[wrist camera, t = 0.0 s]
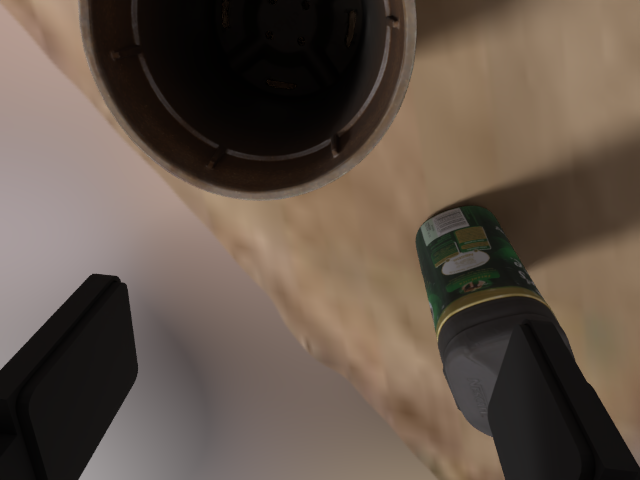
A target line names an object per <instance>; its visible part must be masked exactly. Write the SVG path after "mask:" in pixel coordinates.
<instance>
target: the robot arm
mask: <svg viewBox="0 0 640 480" xmlns="http://www.w3.org/2000/svg"><path fill="white" fill-rule="evenodd" d="M137 373H138V363H137V356H136V348H135V341H134V334H133V326H132V319H131V311H130V304H129V296H128V289H127V285H126V284H125V283H121V281H120V279H119V277H117V276H111V275H102V274H92V275H90V276H89V277H88V278H87V279H86V280H85V282H84V283H83V284H82V285H81V286H80V287H79V288H78V289H77V290H76V291H75V292H74V293H73V294H72V295H71V296H70V297H69V298H68V299H67V301H66V302H65V303H64V304H63V305H62V306H61V307H60V308H59V309H58V310H57V311H56V312H55V313H54V314H53V315H52V316H51V317H50V318H49V319H48V320H47V322H46V323H45V324H44V325H43V326H42V327H41V328H40V329H39V330H38V331H37V332H36V333H35V334H34V335H33V336H32V337H31V338H30V339H29V341H28V342H27V343H26V344H25V345H24V346H23V347H22V348H21V349H20V350H19V351H18V352H17V353H16V354H15V355H14V356H13V357H12V359H10V361H9V362H8V363H7V364H6V365H5V366H4V367H3V368H2V369H1V370H0V480H78V479H79V477H80V476H81V474H82V472H83V471H84V469H85V467H86V465H87V464H88V462H89V460H90V459H91V457H92V455H93V453H94V452H95V450H96V448H97V446H98V445H99V443H100V441H101V439H102V438H103V436H104V434H105V433H106V431H107V429H108V427H109V426H110V424H111V422H112V420H113V419H114V417H115V415H116V414H117V412H118V410H119V408H120V407H121V405H122V403H123V401H124V399H125V398H126V396H127V395H128V393H129V391H130V389H131V388H132V386H133V384H134V382H135V380H136V377H137ZM488 422H489V426H490V429H491V432H492V436H493V439H494V443H495V446H496V449H497V453H498V456H499V460H500V463H501V466H502V470H503V473H504V477H505V480H640V467H639V466H638V464H637V462H636V461H635V459H634V457H633V455H632V454H631V452H630V450H629V448H628V447H627V445H626V443H625V442H624V440H623V438H622V436H621V435H620V433H619V431H618V430H617V428H616V426H615V424H614V423H613V421H612V419H611V418H610V416H609V414H608V412H607V411H606V409H605V407H604V406H603V404H602V402H601V400H600V399H599V397H598V395H597V393H596V392H595V390H594V389H593V387H592V386H591V385H590V384H589V383H587V381H586V379H585V378H584V376H583V374H582V372H581V371H580V369H579V367H578V365H577V364H576V362H575V360H574V358H573V357H572V355H571V353H570V351H569V350H568V348H567V346H566V345H565V343H564V341H563V339H562V338H561V336H560V334H559V332H558V331H557V329H556V327H555V325H554V324H553V323H552V322H550V321H544V320H534V319H525V320H524V321H523V322H522V324H516V325H515V326H514V328H513V331H512V334H511V337H510V340H509V343H508V346H507V349H506V352H505V356H504V359H503V362H502V365H501V368H500V371H499V374H498V377H497V380H496V383H495V386H494V389H493V392H492V396H491V399H490V402H489V405H488Z"/></svg>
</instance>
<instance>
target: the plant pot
mask: <svg viewBox="0 0 640 480" xmlns="http://www.w3.org/2000/svg"><path fill="white" fill-rule="evenodd" d="M303 1H304V0H277V2H276V4H275V5H272V4H270V3H269V1H268V0H230V2H229V9H228V12H229V14H228V16H229V23H230V26H229V28H227V29H225V28H224V27H223V25H222V2H223V0H78V6H79V22H80V30H81V36H82V41H83V47H84V52H85V55H86V59H87V62H88V65H89V68H90V71H91V74H92V76H93V79H94V81H95V83H96V86H97V88H98V90H99V92H100V94H101V96H102V98H103V100H104V102H105V104H106V105H107V107H108V109H109V110H110V112H111V113H112V115H113V117H114V118H115V120H116V121H117V122H118V124H119V125H120V126H121V128H122V129H123V130H124V132H125V133H126V134H127V135H128V136H129V138H130V139H131V140H132V141H133V142H134V143H135V144H136V145H137V146H138V147H139V148H140V149H141V150H142V151H143V152H144V153H145V154H146V155H147V156H148V157H150V158H151V159H152V160H153V161H154V162H156V163H157V164H158V165H160V166H161V167H162V168H164V169H165V170H166V171H167V172H169V173H171V174H172V175H174V176H175V177H177V178H179V179H181V180H183V181H184V182H186V183H188V184H190V185H192V186H195V187H197V188H199V189H202V190H205V191H207V192H210V193H214V194H217V195H221V196H225V197H230V198H235V199H243V200H276V199H284V198H289V197H293V196H298V195H301V194H305V193H308V192H310V191H313V190H316V189H318V188H321V187H323V186H325V185H327V184H329V183H331V182H333V181H335V180H336V179H338V178H339V177H341V176H343V175H344V174H346V173H347V172H348V171H350V170H351V169H352V168H353V167H355V166H356V165H357V164H358V163H360V162H361V161H362V160H363V159H364V158H365V157H366V156H367V155H368V154H369V153H370V152H371V151H372V150H373V148H374V147H375V146H376V145H377V144H378V142H379V141H380V140H381V139H382V137H383V136H384V134H385V133H386V132H387V130H388V129H389V127H390V125H391V124H392V122H393V120H394V118H395V116H396V115H397V113H398V111H399V109H400V107H401V104H402V102H403V100H404V97H405V94H406V91H407V88H408V85H409V81H410V78H411V74H412V70H413V64H414V58H415V50H416V36H417V17H416V4H415V0H306V1H308V2H309V4H310V7H309V9H308V10H304V9H303V8H302V5H301V4H302V2H303ZM352 10H353V11H354V12H355V14H356V23H355V30H354V36H353V39H352V42H351V44H350V46H349V47H348V48H347V46H346V45H345V38H346V35H347V29H348V13H349V12H350V11H352ZM267 31H271V32H272V33H273V39H272V40H268V39H267V38H266V37H265V33H266V32H267ZM299 37H303V38H304V39H305V44H304V45H302V46H301V45H299V44H298V42H297V40H298V38H299ZM267 79H274V81H282V82H285V83H295V84H296V85H297V87H295V88H294V89H282V88H275V87H272V86H269V85H267V84H266V80H267Z"/></svg>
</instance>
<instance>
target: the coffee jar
mask: <svg viewBox="0 0 640 480" xmlns="http://www.w3.org/2000/svg"><path fill="white" fill-rule="evenodd" d="M416 248H417V253H418V258H419V262H420V267H421V271H422V275H423V278H424V282H425V287H426V291H427V296H428V300H429V304H430V309H431V313H432V318H433V322H434V326H435V331H436V337H437V343H438V348H439V352H440V356H441V360H442V363H443V373H444V375H445V378H446V380H447V382H448V385H449V387H450V390H451V392H452V394H453V397H454V400H455V402H456V405H457V407H458V409H459V410H460V411H462V413H463V415H464V417H465V418H466V420H467V421H468V422H469V423H470V424H471V425H472V426H473V427H475V428H476V429H477V430H479V431H481V432H483V433H484V434H486V435H489V436H491V437H493V436H492V432H491V429H490V426H489V422H488V405H489V402H490V399H491V396H492V392H493V389H494V386H495V383H496V380H497V377H498V374H499V371H500V368H501V365H502V362H503V359H504V356H505V352H506V349H507V346H508V343H509V340H510V337H511V334H512V331H513V328H514V326H515V325H516V324H522V322H523V321H524V320H525V319H534V320H544V321H550V322H552V323H553V324H554V325H555V327H556V329H557V331H558V332H559V334H560V336H561V338H562V339H563V341H564V343H565V345H566V346H567V348H568V350H569V351H570V353H571V355H572V357H573V358H574V355H573V352H572V350H571V347H570V344H569V341H568V338H567V336H566V334H565V332H564V330H563V329H562V328H561V326H560V325H559V323H558V321H557V318H556V317H555V315H554V313H553V311H552V310H551V308H550V307H549V306H548V304H547V303H546V302H545V300H544V298H543V297H542V296H541V294H540V292H539V291H538V289H537V288H536V286H535V285H534V283H533V281H532V279H531V278H530V276H529V274H528V273H527V271H526V269H525V268H524V266H523V264H522V263H521V261H520V259H519V258H518V256H517V254H516V253H515V251H514V249H513V248H512V246H511V244H510V242H509V240H508V239H507V237H506V235H505V233H504V232H503V230H502V228H501V226H500V224H499V223H498V221H497V219H496V218H495V216H494V215H493V214H492V213H491V212H490V211H488V210H487V209H485V208H482V207H479V206H464V207H459V208H454V209H451V210H447V211H445V212H442V213H440V214H438V215H436V216H434V217H432V218H430V219H428V220H427V221H426V222H424V223H423V225H422V226H421V227H420V228H419V230H418V232H417V235H416ZM574 360H575V358H574Z"/></svg>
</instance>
